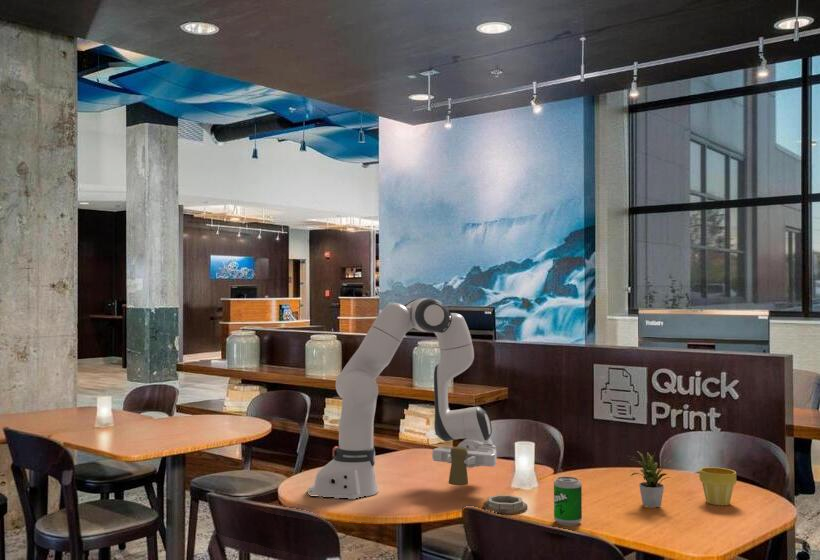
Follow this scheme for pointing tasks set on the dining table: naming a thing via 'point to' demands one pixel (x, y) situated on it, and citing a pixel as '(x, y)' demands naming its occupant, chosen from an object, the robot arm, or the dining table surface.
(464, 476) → the cork
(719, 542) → the dining table surface
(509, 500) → the grey octagonal ring
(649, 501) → the house plant
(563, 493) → the soda can
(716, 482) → the plant pot
